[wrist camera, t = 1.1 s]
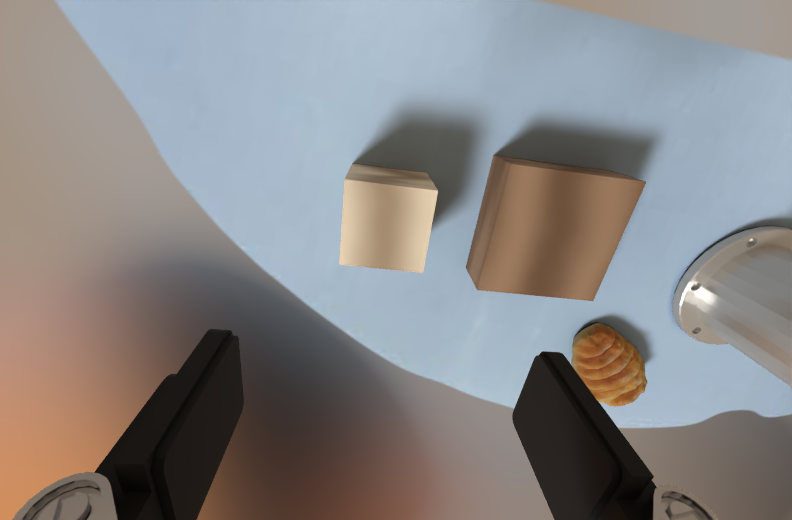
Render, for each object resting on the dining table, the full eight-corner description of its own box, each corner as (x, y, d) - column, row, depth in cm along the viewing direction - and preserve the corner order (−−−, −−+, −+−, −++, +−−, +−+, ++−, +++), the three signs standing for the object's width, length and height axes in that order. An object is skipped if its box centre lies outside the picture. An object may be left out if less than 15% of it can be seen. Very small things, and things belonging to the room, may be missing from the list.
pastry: (550, 339, 35) (569, 365, 32) (612, 306, 34) (639, 330, 30) (583, 391, 39) (603, 420, 35) (640, 364, 37) (667, 391, 34)
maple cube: (426, 172, 27) (438, 190, 22) (415, 241, 29) (422, 272, 24) (352, 163, 26) (344, 179, 21) (347, 233, 29) (339, 264, 24)
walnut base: (611, 171, 27) (646, 181, 24) (568, 278, 32) (593, 301, 28) (493, 155, 26) (511, 164, 23) (465, 267, 31) (477, 289, 27)
